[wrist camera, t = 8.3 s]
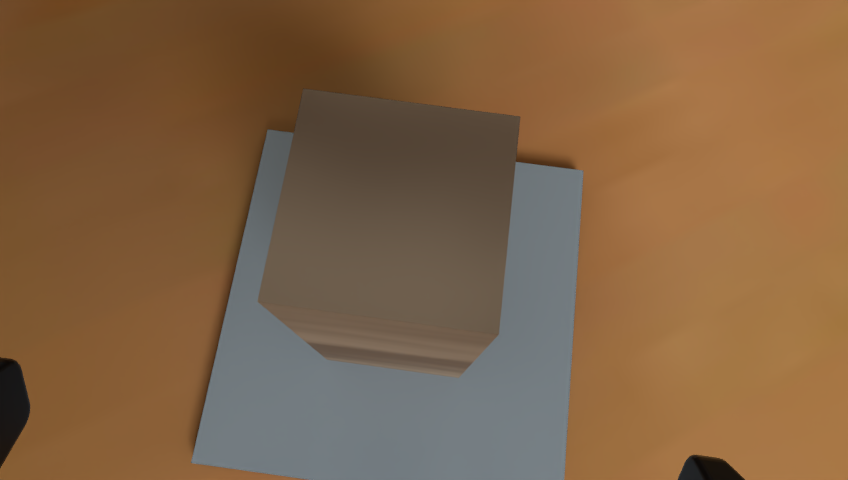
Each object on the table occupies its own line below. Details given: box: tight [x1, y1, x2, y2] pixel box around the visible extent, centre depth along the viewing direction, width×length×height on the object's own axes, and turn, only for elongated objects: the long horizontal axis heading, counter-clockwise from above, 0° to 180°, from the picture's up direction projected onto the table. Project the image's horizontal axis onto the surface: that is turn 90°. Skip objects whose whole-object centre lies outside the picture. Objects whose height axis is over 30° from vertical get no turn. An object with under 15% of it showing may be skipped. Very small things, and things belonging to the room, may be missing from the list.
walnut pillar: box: [257, 89, 520, 378], centre depth 17 cm, size 4×4×10 cm
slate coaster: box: [191, 130, 583, 480], centre depth 22 cm, size 12×12×1 cm
